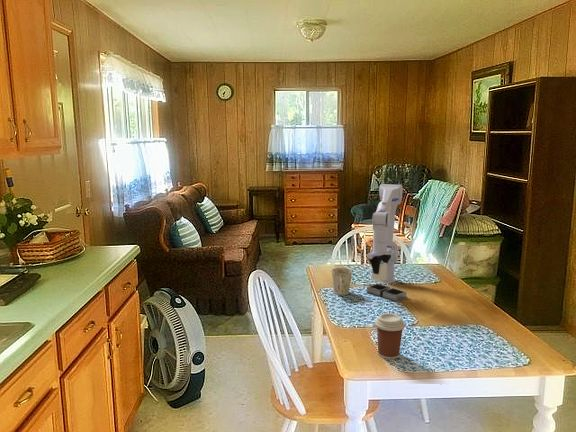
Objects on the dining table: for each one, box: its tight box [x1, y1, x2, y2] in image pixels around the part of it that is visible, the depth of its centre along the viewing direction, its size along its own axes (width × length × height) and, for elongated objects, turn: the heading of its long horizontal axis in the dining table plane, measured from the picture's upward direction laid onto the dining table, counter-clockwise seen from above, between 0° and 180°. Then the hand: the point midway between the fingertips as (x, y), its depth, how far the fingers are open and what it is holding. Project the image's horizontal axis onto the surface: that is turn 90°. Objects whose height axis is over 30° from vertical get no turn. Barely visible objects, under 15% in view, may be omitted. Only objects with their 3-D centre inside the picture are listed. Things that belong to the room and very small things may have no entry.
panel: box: [365, 283, 408, 303], centre depth 200 cm, size 15×9×3 cm, turn 43°
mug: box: [331, 267, 353, 296], centre depth 200 cm, size 8×13×10 cm, turn 174°
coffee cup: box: [374, 312, 406, 360], centre depth 148 cm, size 9×9×12 cm
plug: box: [372, 261, 387, 282], centre depth 201 cm, size 4×4×8 cm
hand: (379, 272), depth 201 cm, fingers closed on plug, 4 cm apart
